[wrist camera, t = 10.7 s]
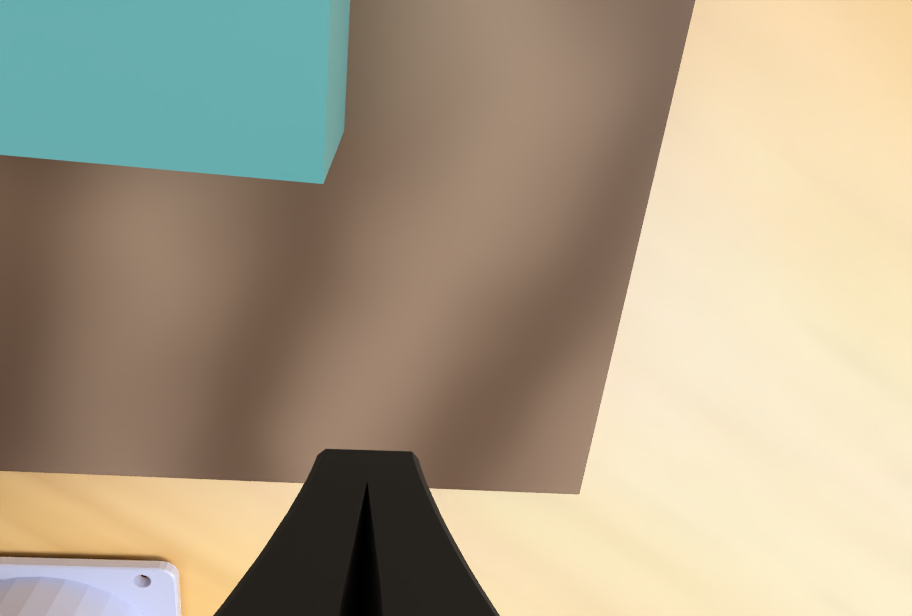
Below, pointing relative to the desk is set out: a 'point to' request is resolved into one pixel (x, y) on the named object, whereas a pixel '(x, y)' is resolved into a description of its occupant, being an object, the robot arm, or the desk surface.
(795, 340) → the desk surface
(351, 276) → the plate
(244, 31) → the teal mini fridge
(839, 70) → the desk surface
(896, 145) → the desk surface
